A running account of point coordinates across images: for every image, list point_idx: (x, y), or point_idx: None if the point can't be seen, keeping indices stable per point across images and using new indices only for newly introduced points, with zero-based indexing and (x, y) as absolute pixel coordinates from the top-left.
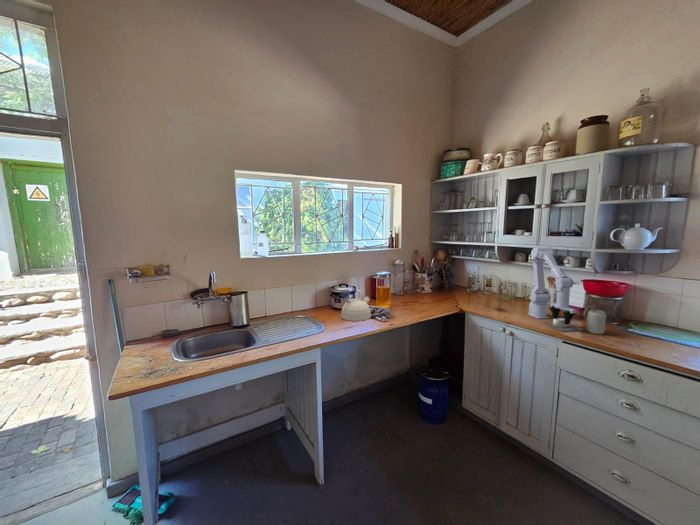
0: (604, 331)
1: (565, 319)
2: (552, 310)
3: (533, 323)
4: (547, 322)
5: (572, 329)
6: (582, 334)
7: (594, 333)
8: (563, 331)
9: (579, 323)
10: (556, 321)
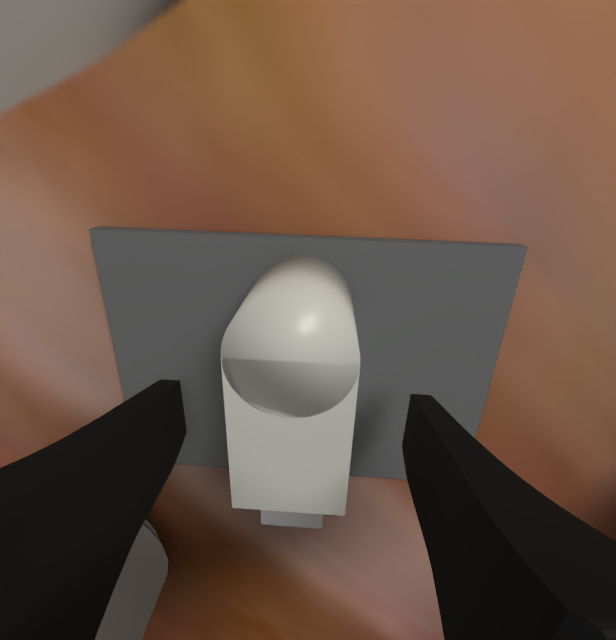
0: None
1: (91, 431)
2: (541, 557)
3: (608, 35)
4: (502, 320)
5: None
6: (22, 387)
7: None
8: (94, 234)
9: (363, 606)
10: (243, 303)
